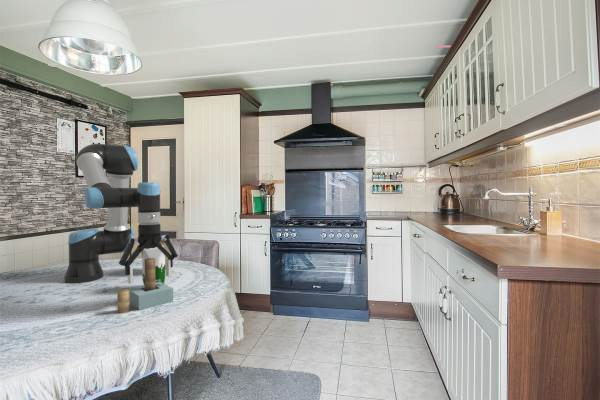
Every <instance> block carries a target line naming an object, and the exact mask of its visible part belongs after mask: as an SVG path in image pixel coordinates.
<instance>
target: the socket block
mask: <svg viewBox="0 0 600 400" xmlns="http://www.w3.org/2000/svg"><path fill="white" fill-rule="evenodd" d="M127 290H129V299H130V305H132V306H133V307H134V308H135V309H137V310H139V311H142V310H145V309H148V308H149V309H150V308H152V307H156V306H160V305H164V304H168V303H171V302H174V287H172V286H170V285H167V284H165V282H164V283H162V282H157V283H156V289H155V290H150V291H146V292H145V285H144V284H143V285H139V286H133V287H129V288H127Z"/></svg>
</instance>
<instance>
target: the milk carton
mask: <svg viewBox="0 0 600 400" xmlns="http://www.w3.org/2000/svg"><path fill="white" fill-rule="evenodd" d="M162 246H163V245H162ZM163 247H164V246H163ZM142 254H143V256H141V257H142V260H141V261H142V262H141V263H142V264H141V265H142V268H141V269H142V270H141V271H142V272H141V273H142V283H143V285H145V259H150V258H154V259H155V281H156V283H157V282H162V283H164V284H165V282H166V281H165V280H166V270H165V255H164V254H163V253H162V252H161V251H160V250H159V249H158V248H157V247H155V248H149V249H144V250H143V252H142V253H141V255H142Z"/></svg>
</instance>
